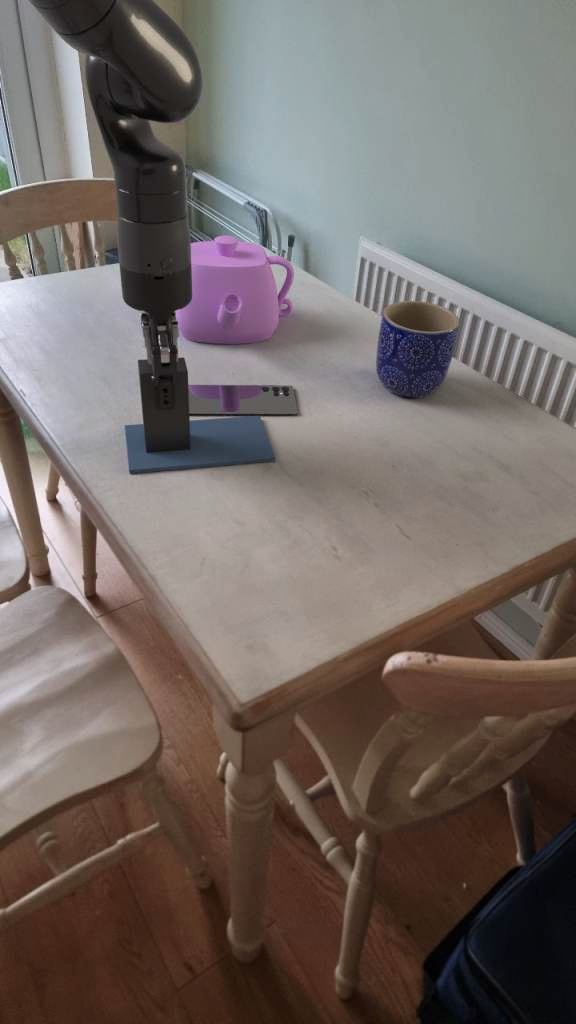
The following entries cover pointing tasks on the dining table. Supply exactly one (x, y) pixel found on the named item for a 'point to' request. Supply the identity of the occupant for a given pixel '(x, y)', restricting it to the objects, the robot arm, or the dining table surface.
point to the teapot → (233, 293)
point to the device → (165, 412)
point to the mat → (204, 446)
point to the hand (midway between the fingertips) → (164, 399)
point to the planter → (415, 347)
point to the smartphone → (241, 400)
